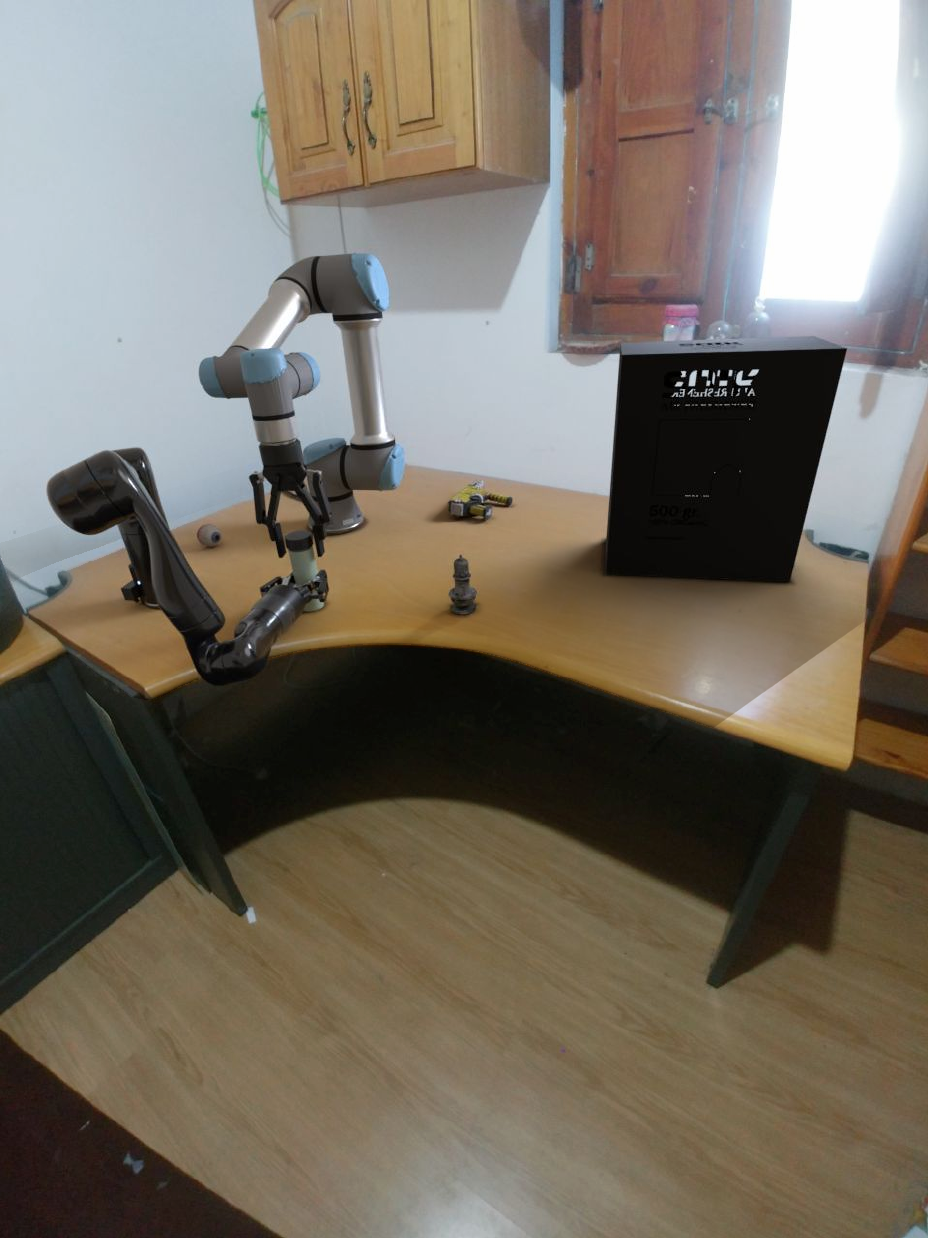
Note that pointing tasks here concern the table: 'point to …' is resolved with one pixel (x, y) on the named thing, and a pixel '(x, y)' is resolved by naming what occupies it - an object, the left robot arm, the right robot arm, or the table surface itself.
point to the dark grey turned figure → (462, 588)
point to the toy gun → (475, 501)
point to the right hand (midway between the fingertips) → (301, 554)
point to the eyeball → (209, 535)
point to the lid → (299, 540)
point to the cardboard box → (717, 455)
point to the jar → (305, 572)
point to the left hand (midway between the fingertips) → (311, 573)
